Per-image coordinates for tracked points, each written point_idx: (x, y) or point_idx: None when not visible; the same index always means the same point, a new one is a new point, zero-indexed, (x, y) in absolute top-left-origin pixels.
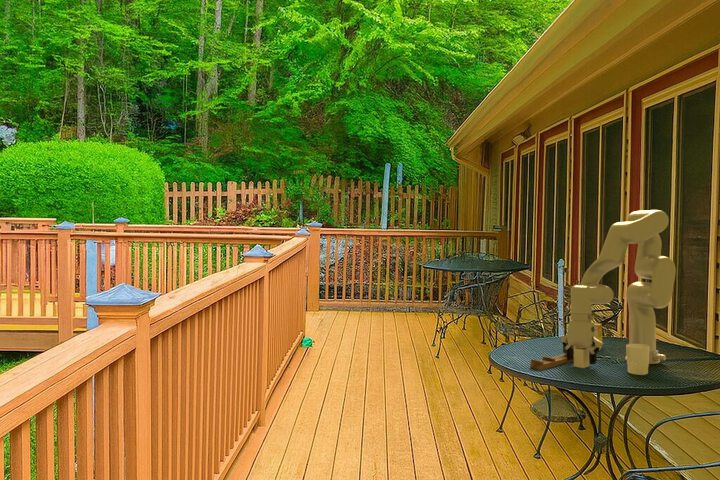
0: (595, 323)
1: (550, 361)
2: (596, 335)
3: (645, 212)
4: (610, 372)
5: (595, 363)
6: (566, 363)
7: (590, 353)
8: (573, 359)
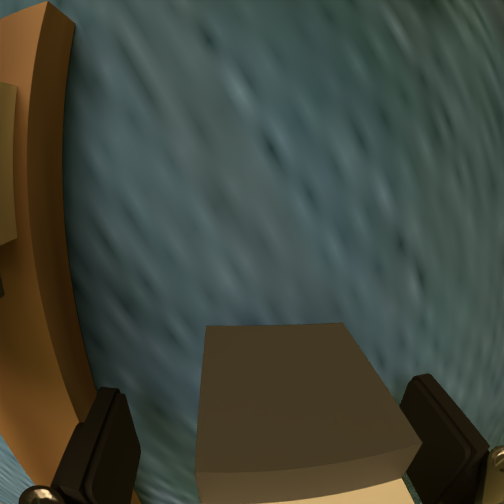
0: None
1: None
2: None
3: None
4: (495, 362)
5: (422, 378)
6: (93, 381)
7: (397, 412)
8: (55, 261)
